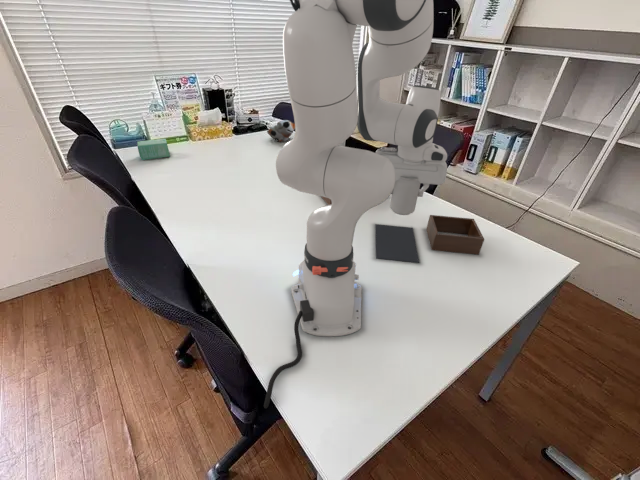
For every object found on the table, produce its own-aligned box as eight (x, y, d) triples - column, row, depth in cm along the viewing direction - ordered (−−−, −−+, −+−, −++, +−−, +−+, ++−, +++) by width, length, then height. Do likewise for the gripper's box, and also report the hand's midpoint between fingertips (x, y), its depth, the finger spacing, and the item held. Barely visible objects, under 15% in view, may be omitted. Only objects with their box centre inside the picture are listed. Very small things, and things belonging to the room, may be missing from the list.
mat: (419, 263, 99) (419, 262, 99) (376, 258, 100) (376, 257, 100) (412, 228, 116) (412, 227, 115) (375, 225, 117) (375, 224, 116)
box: (140, 155, 165) (136, 140, 161) (169, 152, 171) (166, 138, 166) (140, 160, 160) (136, 145, 156) (170, 157, 165) (167, 142, 161)
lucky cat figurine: (281, 134, 204) (291, 114, 196) (291, 146, 200) (302, 126, 192) (262, 131, 193) (273, 110, 185) (273, 144, 188) (284, 123, 181)
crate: (478, 254, 104) (484, 239, 100) (431, 250, 105) (435, 234, 102) (468, 233, 114) (473, 218, 111) (426, 229, 115) (429, 214, 112)
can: (387, 214, 99) (394, 177, 92) (390, 203, 105) (397, 167, 98) (413, 218, 97) (421, 181, 91) (414, 207, 103) (422, 171, 97)
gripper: (376, 150, 89) (370, 196, 97) (453, 156, 87) (441, 202, 95) (375, 143, 94) (370, 187, 102) (449, 148, 92) (437, 193, 100)
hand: (404, 194), depth 98 cm, fingers closed on can, 7 cm apart
